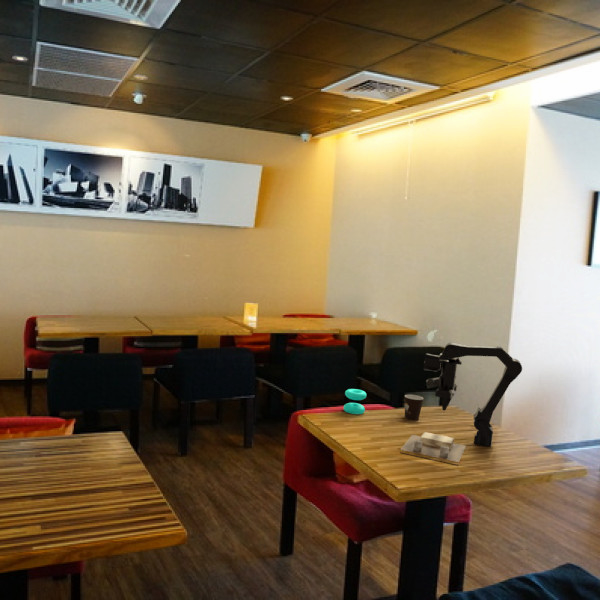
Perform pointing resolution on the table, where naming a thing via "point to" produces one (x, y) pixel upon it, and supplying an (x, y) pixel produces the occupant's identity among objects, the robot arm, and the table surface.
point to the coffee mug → (412, 406)
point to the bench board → (433, 450)
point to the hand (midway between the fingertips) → (444, 410)
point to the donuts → (355, 407)
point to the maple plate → (436, 440)
